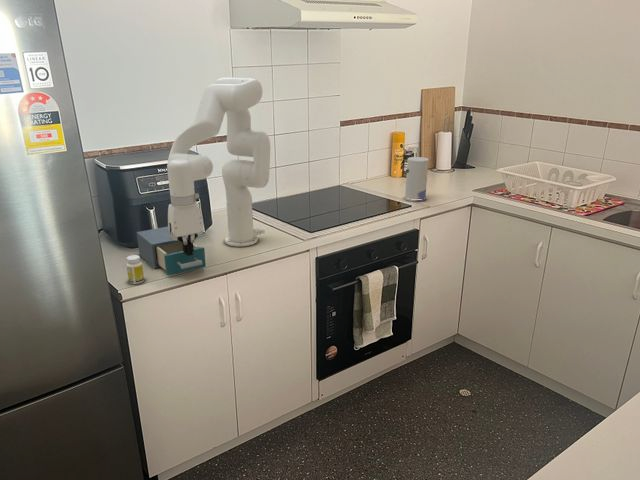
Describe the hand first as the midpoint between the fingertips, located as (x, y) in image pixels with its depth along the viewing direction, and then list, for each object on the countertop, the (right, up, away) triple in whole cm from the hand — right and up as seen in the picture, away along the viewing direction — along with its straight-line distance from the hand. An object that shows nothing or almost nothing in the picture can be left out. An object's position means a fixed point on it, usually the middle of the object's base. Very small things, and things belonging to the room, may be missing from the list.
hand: (188, 254), depth 180 cm
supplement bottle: (-17, -9, -1) cm, 19 cm away
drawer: (-4, -4, +8) cm, 10 cm away
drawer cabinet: (-12, -1, +18) cm, 22 cm away
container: (+90, +31, +93) cm, 133 cm away
